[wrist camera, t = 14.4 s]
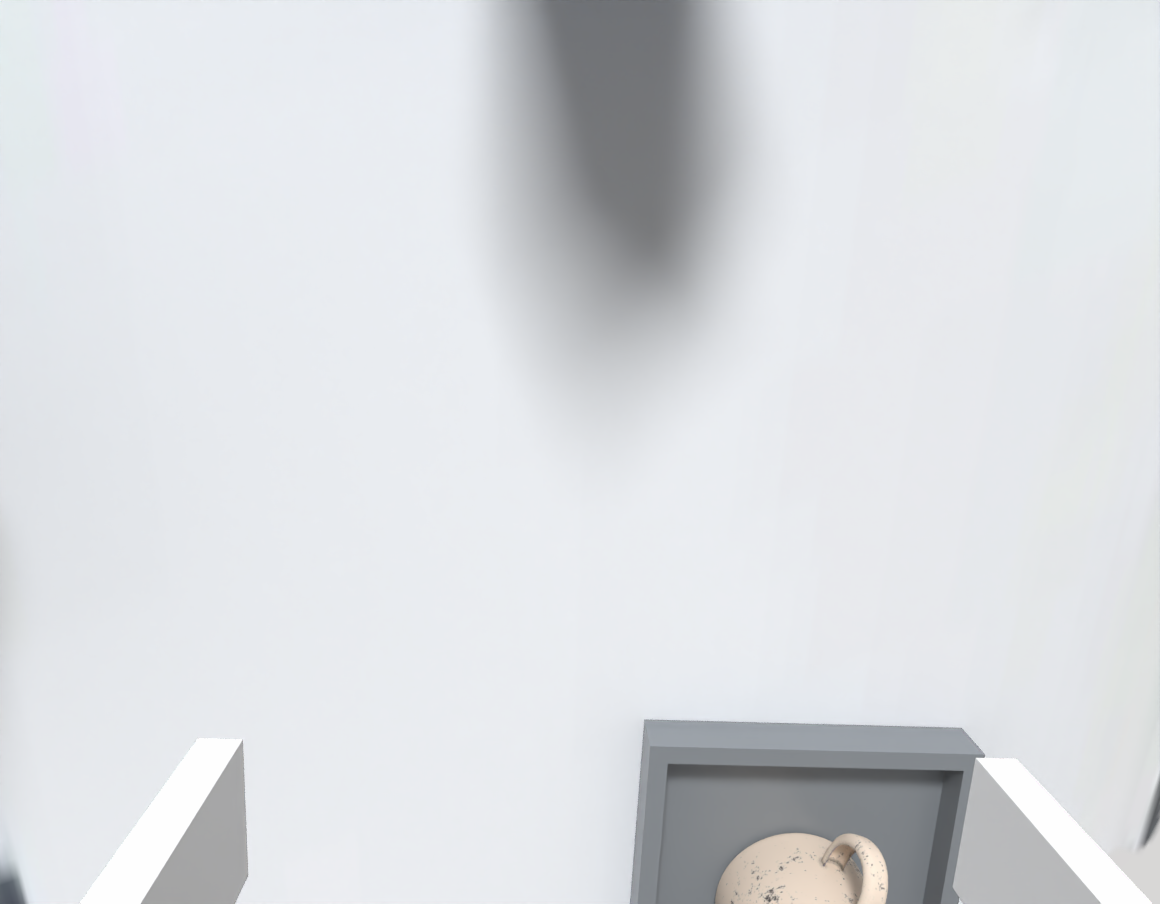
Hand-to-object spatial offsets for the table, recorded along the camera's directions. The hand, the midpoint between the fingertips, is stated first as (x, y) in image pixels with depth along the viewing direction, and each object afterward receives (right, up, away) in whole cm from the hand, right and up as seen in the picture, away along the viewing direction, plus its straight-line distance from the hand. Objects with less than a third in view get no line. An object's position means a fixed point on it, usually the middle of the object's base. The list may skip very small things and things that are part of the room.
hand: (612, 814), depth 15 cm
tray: (+11, -17, +34) cm, 40 cm away
